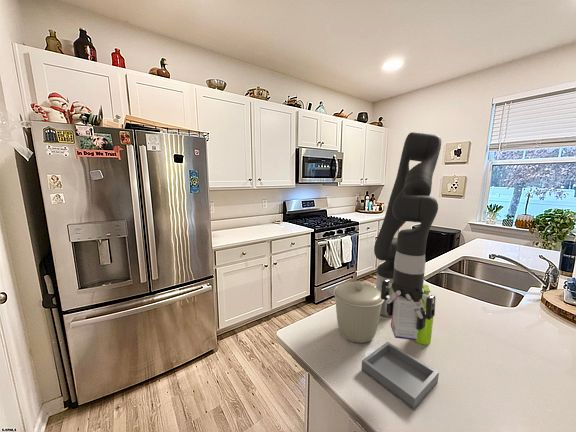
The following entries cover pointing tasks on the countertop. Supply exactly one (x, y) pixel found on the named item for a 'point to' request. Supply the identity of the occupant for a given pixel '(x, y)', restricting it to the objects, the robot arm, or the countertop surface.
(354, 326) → the canister
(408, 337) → the supplement box
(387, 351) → the tray
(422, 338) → the soap dispenser
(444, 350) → the countertop surface
